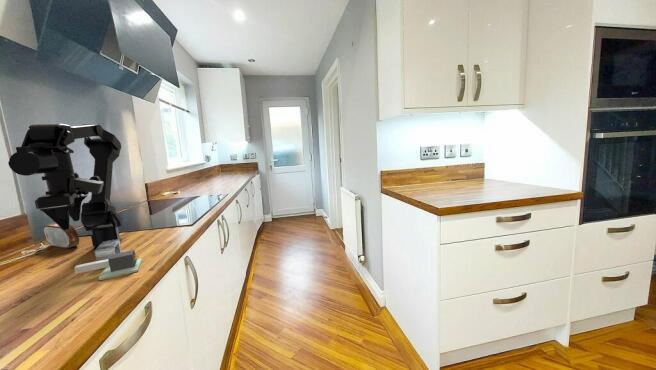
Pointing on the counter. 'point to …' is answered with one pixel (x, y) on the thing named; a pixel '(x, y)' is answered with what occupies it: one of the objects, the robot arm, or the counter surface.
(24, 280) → the counter surface
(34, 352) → the counter surface
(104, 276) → the mat
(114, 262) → the plug
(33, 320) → the counter surface
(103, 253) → the housing
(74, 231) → the tin
